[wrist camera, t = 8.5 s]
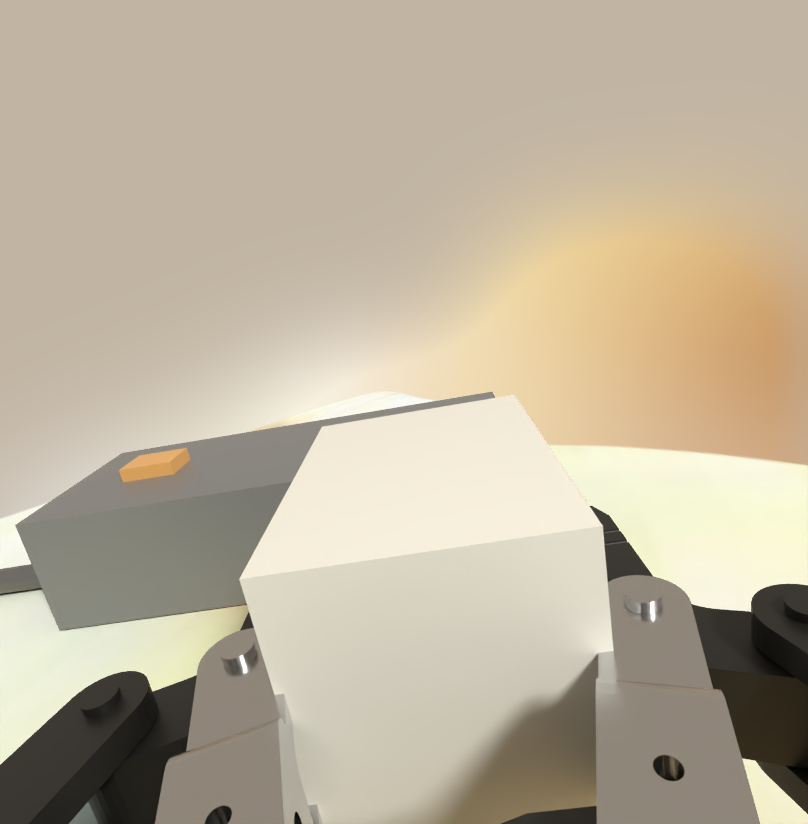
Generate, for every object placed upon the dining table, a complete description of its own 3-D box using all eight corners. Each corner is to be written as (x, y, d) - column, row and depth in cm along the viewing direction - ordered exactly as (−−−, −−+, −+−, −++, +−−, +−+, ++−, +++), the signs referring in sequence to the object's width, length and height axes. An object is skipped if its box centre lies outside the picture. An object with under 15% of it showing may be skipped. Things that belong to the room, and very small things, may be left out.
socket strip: (-138, 658, 24) (-200, 545, 22) (-1, 558, 31) (-40, 469, 30) (534, 563, 21) (517, 430, 20) (504, 481, 29) (490, 380, 27)
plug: (379, 1039, 9) (238, 578, 7) (397, 655, 18) (340, 393, 15) (645, 1017, 9) (603, 525, 6) (532, 638, 17) (495, 366, 15)
